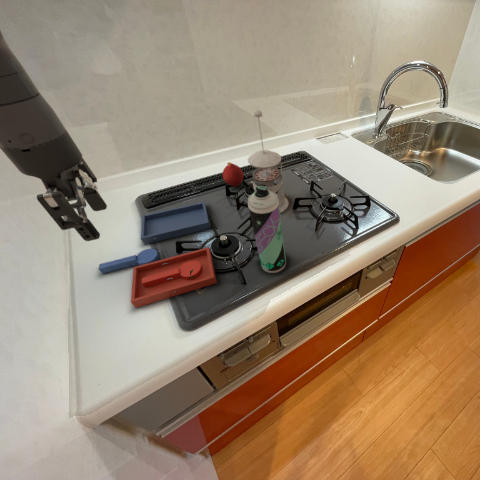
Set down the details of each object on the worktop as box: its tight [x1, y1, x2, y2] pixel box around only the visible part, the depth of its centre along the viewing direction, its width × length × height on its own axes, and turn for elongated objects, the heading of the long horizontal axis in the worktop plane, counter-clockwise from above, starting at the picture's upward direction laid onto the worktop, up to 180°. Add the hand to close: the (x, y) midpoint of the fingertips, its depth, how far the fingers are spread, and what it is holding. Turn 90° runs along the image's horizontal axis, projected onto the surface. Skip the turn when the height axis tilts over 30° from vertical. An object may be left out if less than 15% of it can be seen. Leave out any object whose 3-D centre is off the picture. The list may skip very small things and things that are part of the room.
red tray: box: [130, 247, 218, 309], centre depth 56 cm, size 15×9×2 cm, turn 113°
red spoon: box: [142, 261, 202, 288], centre depth 56 cm, size 11×4×2 cm, turn 113°
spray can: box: [247, 185, 287, 274], centre depth 53 cm, size 6×6×20 cm
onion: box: [222, 161, 245, 188], centre depth 79 cm, size 6×6×8 cm
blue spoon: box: [98, 248, 160, 275], centre depth 59 cm, size 11×4×2 cm, turn 113°
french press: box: [247, 109, 290, 214], centre depth 68 cm, size 10×12×25 cm
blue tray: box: [140, 201, 212, 246], centre depth 68 cm, size 15×9×2 cm, turn 113°
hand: (97, 223), depth 48 cm, fingers open, 8 cm apart
